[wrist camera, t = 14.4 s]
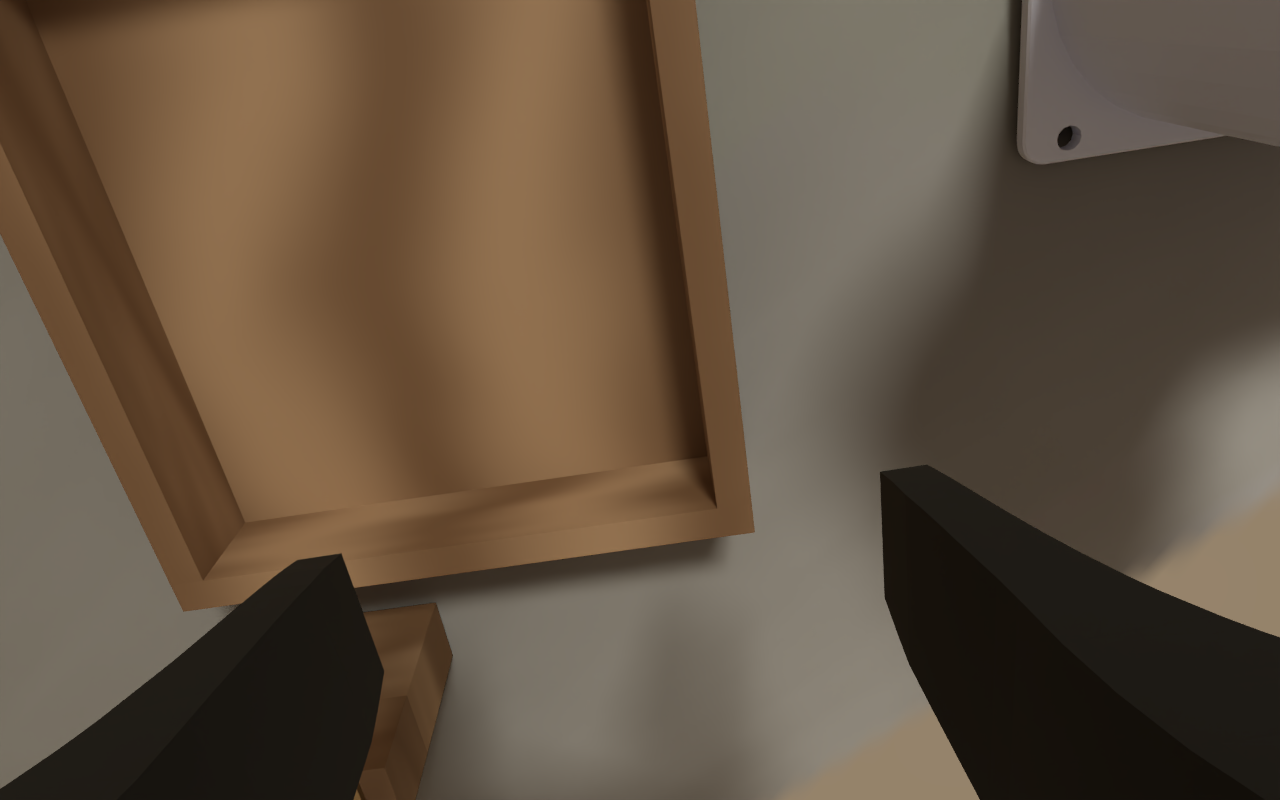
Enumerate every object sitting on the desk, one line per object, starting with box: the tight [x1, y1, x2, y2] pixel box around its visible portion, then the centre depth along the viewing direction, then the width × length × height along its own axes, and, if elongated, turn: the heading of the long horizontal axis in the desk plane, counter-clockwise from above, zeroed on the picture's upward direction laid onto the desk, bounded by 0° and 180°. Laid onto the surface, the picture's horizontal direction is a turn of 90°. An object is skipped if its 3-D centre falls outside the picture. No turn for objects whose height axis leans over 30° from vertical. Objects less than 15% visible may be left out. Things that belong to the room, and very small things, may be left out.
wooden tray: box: [0, 0, 755, 800], centre depth 18 cm, size 14×21×6 cm, turn 9°
